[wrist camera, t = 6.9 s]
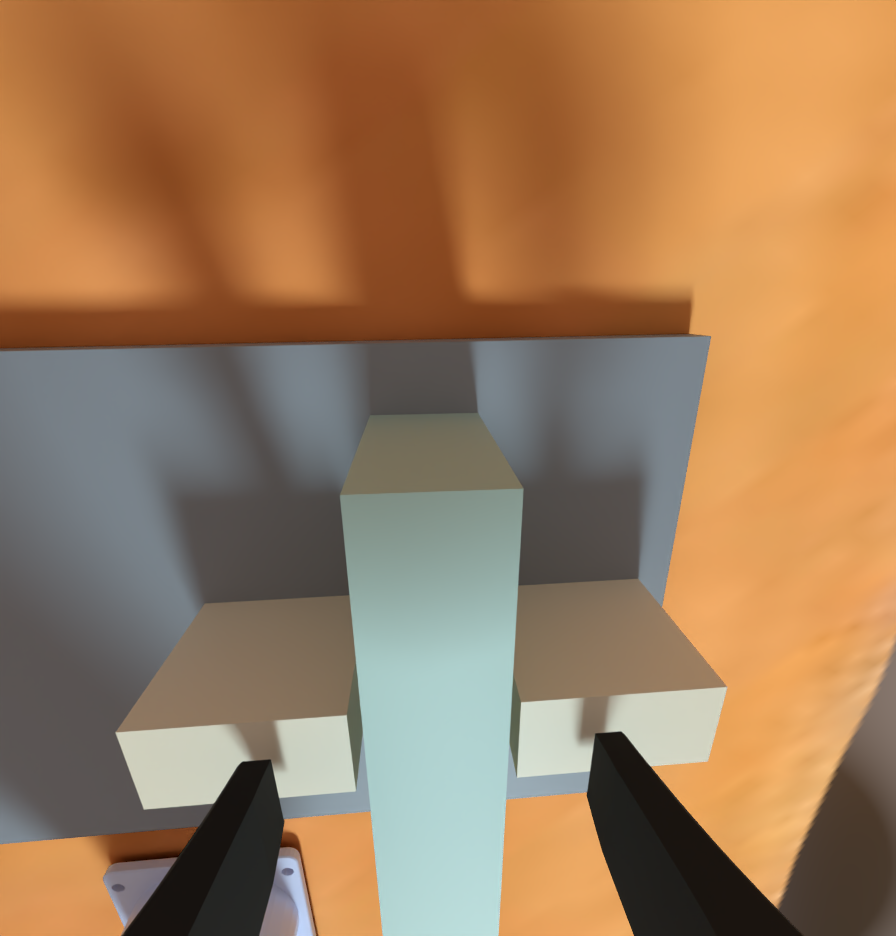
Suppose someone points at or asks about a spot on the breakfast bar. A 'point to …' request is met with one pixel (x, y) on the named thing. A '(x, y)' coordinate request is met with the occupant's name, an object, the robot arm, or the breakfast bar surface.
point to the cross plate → (434, 661)
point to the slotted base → (316, 565)
